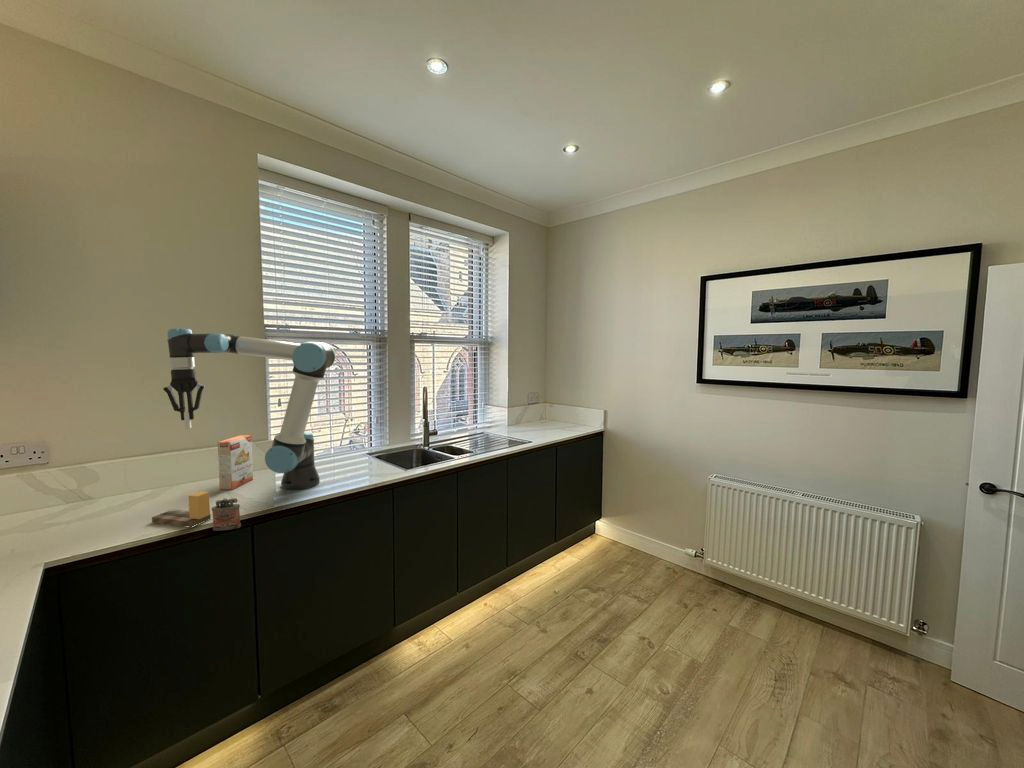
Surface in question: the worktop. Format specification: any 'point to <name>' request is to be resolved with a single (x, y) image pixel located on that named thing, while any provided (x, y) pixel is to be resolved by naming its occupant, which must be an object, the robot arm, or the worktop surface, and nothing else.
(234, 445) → the cracker box
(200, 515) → the orange rectangular block
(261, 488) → the worktop surface
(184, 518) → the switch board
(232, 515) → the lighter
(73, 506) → the worktop surface
